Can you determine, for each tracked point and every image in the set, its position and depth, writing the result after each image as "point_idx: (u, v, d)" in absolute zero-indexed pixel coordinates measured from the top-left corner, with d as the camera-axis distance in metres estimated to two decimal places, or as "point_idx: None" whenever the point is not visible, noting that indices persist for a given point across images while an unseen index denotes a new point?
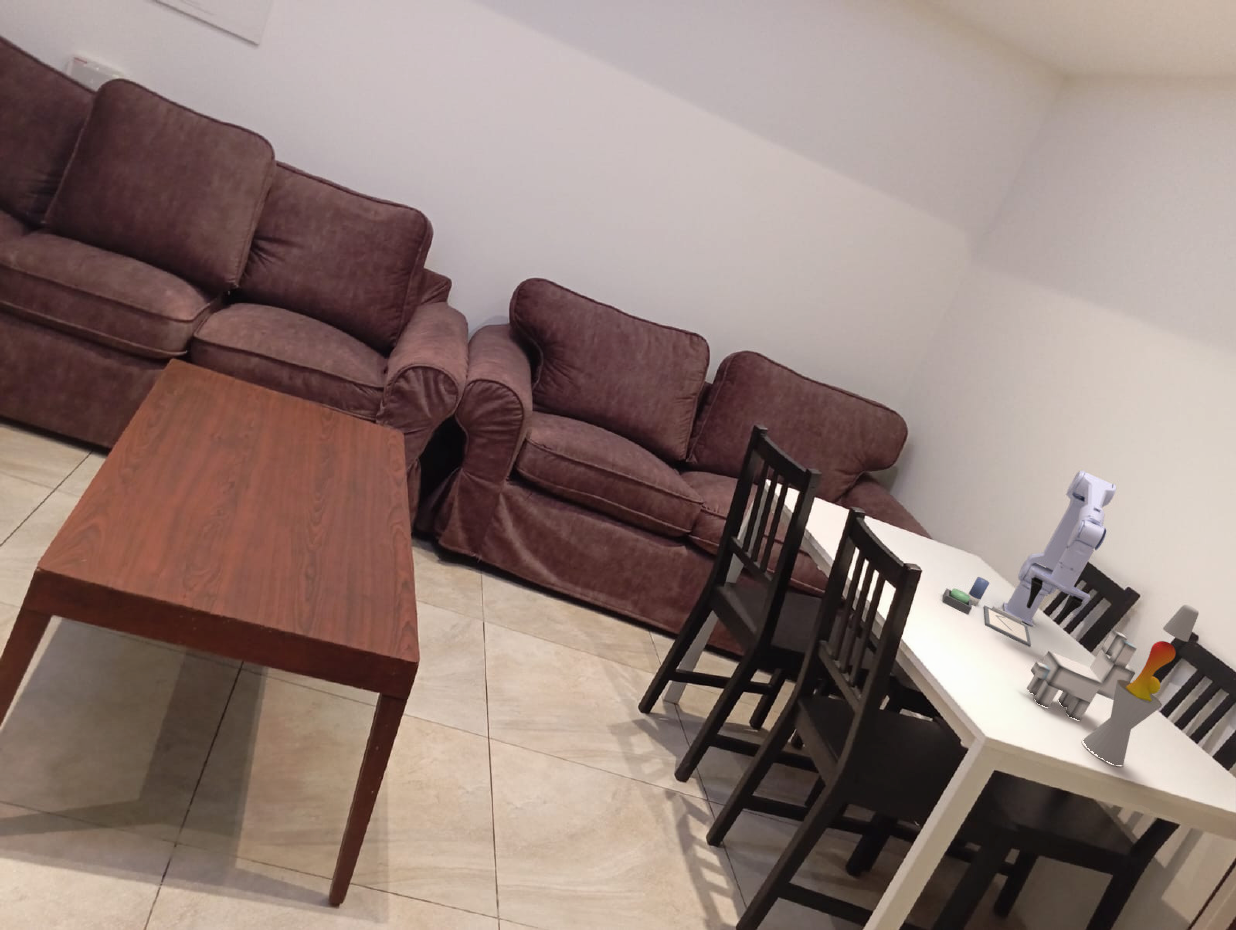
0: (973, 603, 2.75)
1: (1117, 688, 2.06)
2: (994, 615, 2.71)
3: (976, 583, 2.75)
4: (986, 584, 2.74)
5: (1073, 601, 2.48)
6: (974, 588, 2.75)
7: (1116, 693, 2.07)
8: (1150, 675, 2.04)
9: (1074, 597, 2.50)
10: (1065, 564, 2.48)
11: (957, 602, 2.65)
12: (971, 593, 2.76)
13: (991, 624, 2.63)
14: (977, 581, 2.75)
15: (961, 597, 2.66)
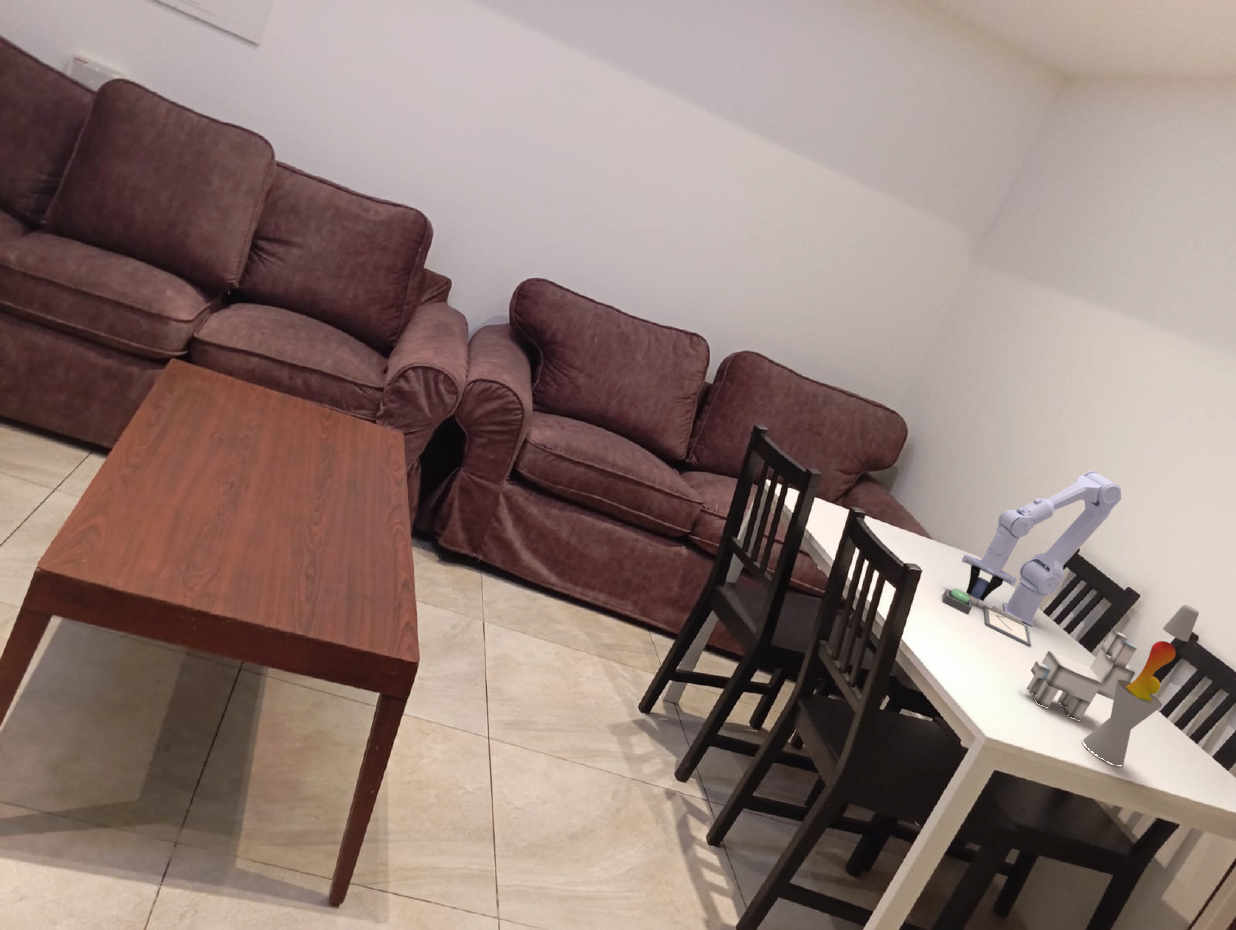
0: (973, 603, 2.75)
1: (1117, 688, 2.06)
2: (994, 615, 2.71)
3: (976, 583, 2.75)
4: (986, 584, 2.74)
5: (994, 581, 2.72)
6: (974, 588, 2.75)
7: (1116, 693, 2.07)
8: (1150, 675, 2.04)
9: (996, 577, 2.73)
10: (989, 546, 2.73)
11: (957, 602, 2.65)
12: (971, 593, 2.76)
13: (991, 624, 2.63)
14: (977, 581, 2.75)
15: (961, 597, 2.66)
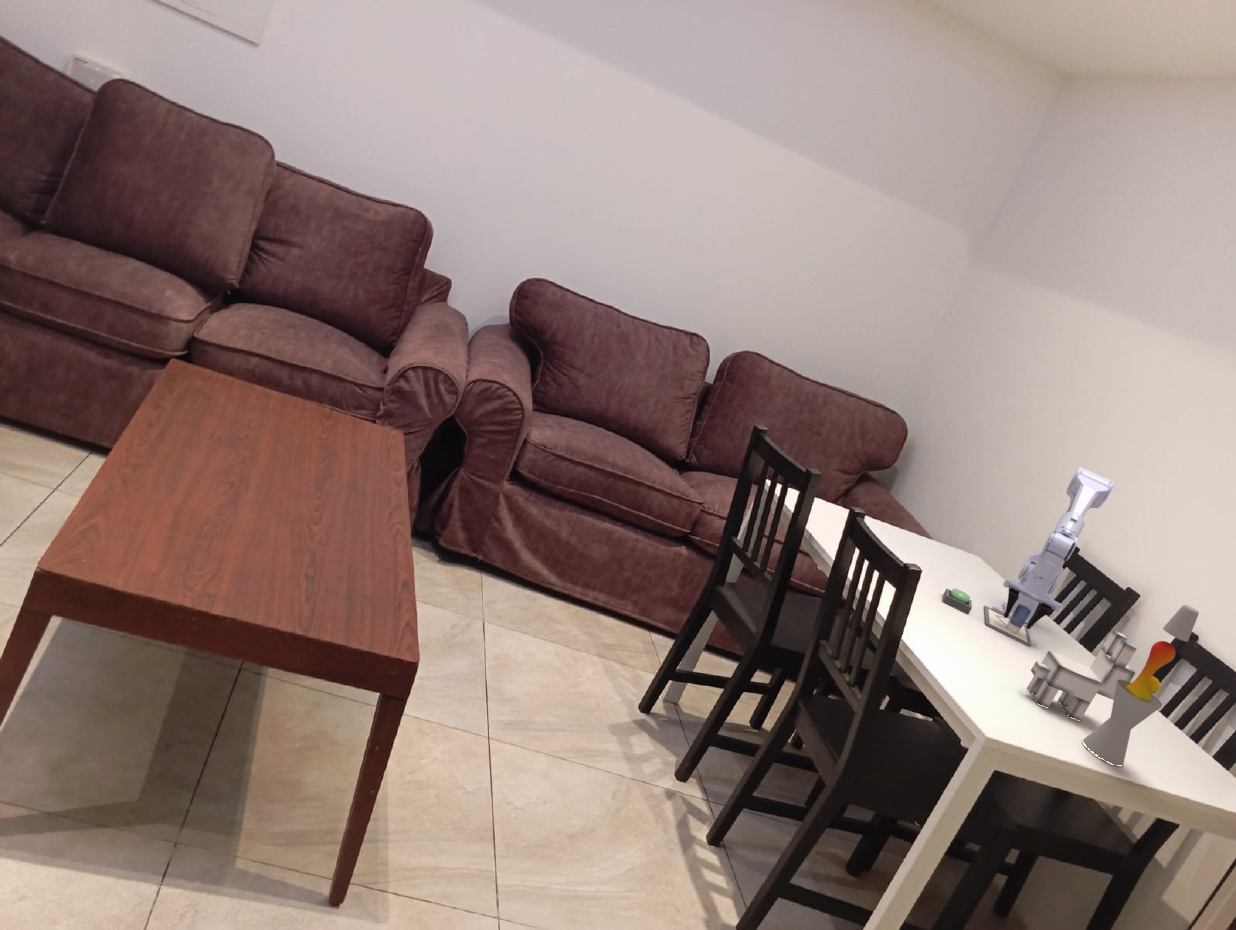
0: (1014, 632, 2.62)
1: (1117, 688, 2.06)
2: (994, 615, 2.71)
3: (1017, 611, 2.62)
4: (1028, 612, 2.61)
5: (1042, 608, 2.58)
6: (1015, 616, 2.62)
7: (1116, 693, 2.07)
8: (1150, 675, 2.04)
9: (1043, 604, 2.60)
10: (1036, 573, 2.58)
11: (957, 602, 2.65)
12: (1011, 621, 2.63)
13: (991, 624, 2.63)
14: (1018, 609, 2.62)
15: (961, 597, 2.66)
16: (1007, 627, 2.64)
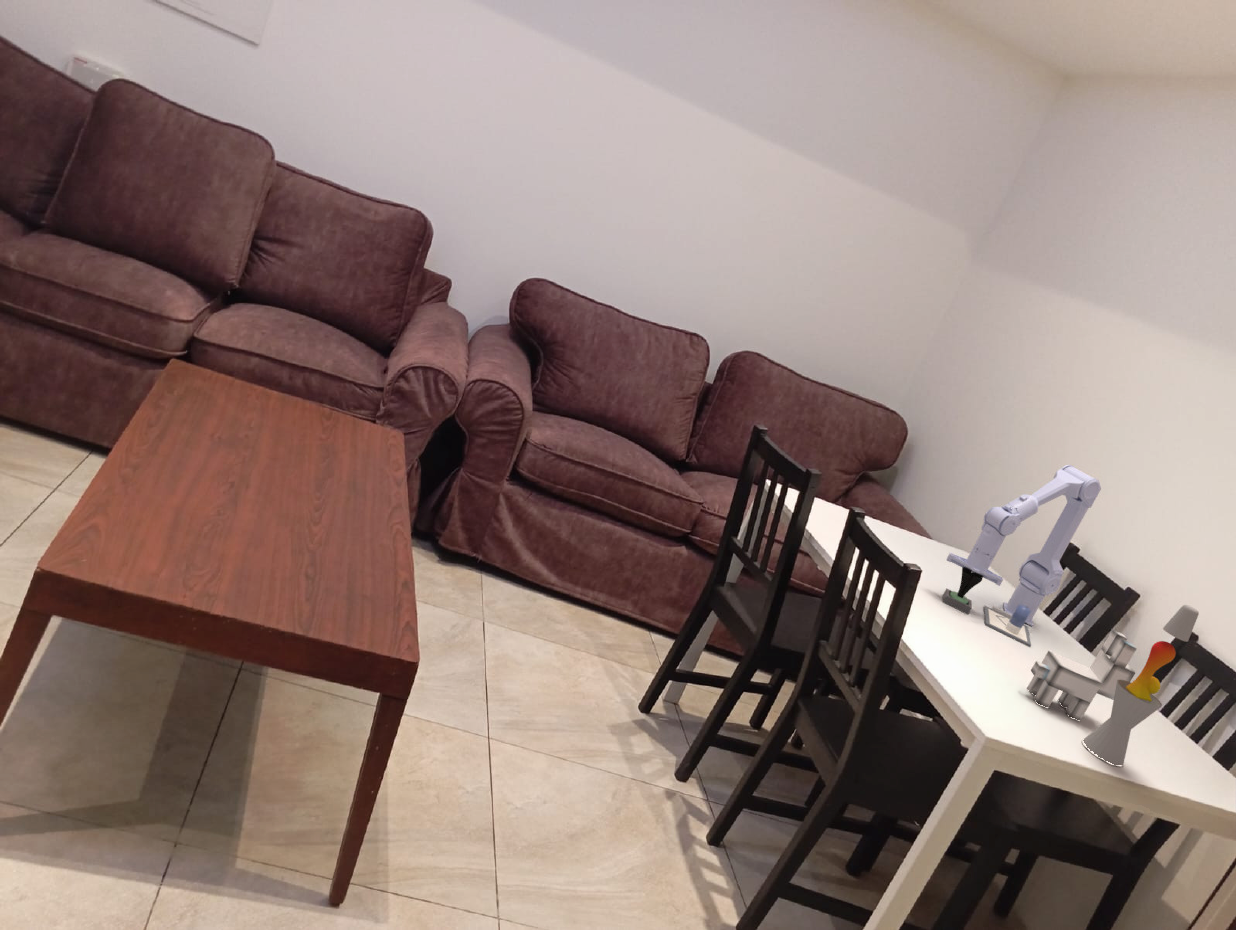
0: (1014, 632, 2.62)
1: (1117, 688, 2.06)
2: (994, 615, 2.71)
3: (1017, 611, 2.62)
4: (1028, 612, 2.61)
5: (974, 577, 2.64)
6: (1015, 616, 2.62)
7: (1116, 693, 2.07)
8: (1150, 675, 2.04)
9: (975, 573, 2.65)
10: (974, 545, 2.65)
11: (957, 602, 2.65)
12: (1011, 621, 2.63)
13: (991, 624, 2.63)
14: (1018, 609, 2.62)
15: (960, 600, 2.66)
16: (1007, 627, 2.64)
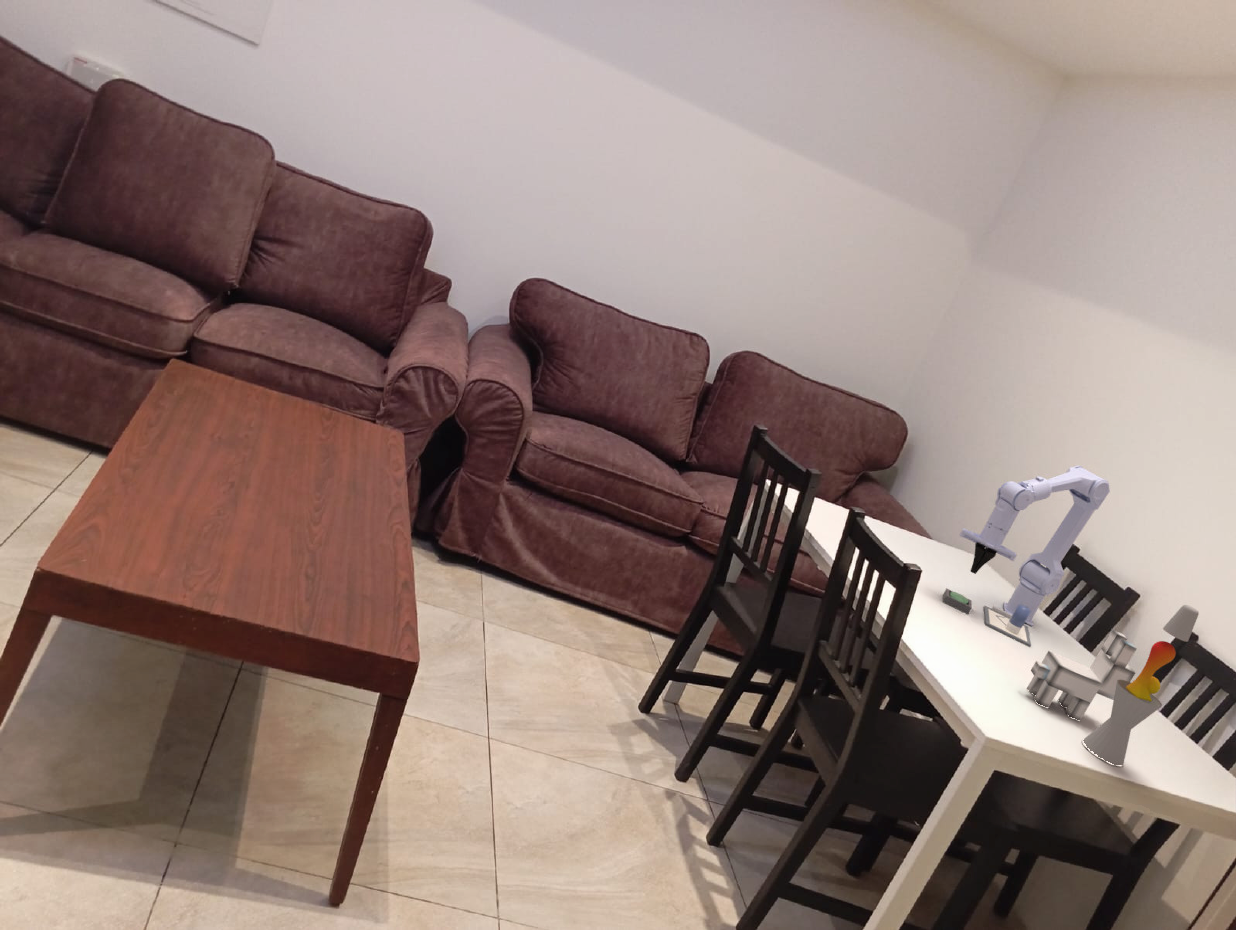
0: (1014, 632, 2.62)
1: (1117, 688, 2.06)
2: (994, 615, 2.71)
3: (1017, 611, 2.62)
4: (1028, 612, 2.61)
5: (987, 552, 2.62)
6: (1015, 616, 2.62)
7: (1116, 693, 2.07)
8: (1150, 675, 2.04)
9: (989, 549, 2.63)
10: (988, 520, 2.63)
11: (957, 602, 2.65)
12: (1011, 621, 2.63)
13: (991, 624, 2.63)
14: (1018, 609, 2.62)
15: (959, 600, 2.66)
16: (1007, 627, 2.64)
